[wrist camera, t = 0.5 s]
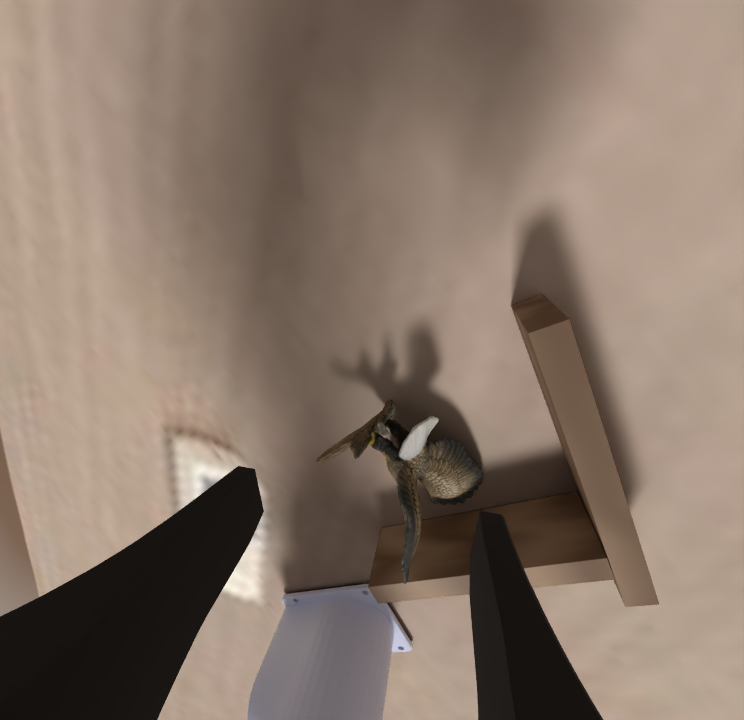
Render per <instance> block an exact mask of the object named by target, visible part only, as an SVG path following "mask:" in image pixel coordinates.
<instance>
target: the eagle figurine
mask: <svg viewBox="0 0 744 720" xmlns="http://www.w3.org/2000/svg"><path fill="white" fill-rule="evenodd" d="M394 412H395V406H392V401H391V400H389V401H387V402H386V404H385V406H384V408H383V410H382V411H381V412H380V413H379V414H378V415H376V416H375V417H374V418H372V419H371V420H370V421H368V422H367V423H366V424H365V425H364V426H362V427H361V428H360V429H358V430H356V431H355V432H353V433H351V434H350V435H348V436H347V437H345V438H344V439H343V440H341V441H340V442H338V443H337V444H335V445H334V446H333V447H331V448H330V449H328V450H327V451H325V452H324V453H323V454H322V455H321V456H320V457H318V458H317V459H316V462H318V463H322V462H324V461H325V460H328V459H330V458H332V457H334V456H336V455H338V454H339V453H341V452H343V451H345V450H346V449H347V448H349V447H350V448H351V450H352V451H353V453H354V458H355V459H357V458H358V457H359V456H360V455H361V454H362V453H363V451H364V450H365V449H366V448H367V446H368V445H371V446H372V447H373V448H374V449H376V450H379V451H380V452H382V453H383V455H384V456H385V457H386V461H387V467H388V470H389V472H390V473H391V475H392V476H393V478H394V479H395V480H396V482H397V485H398V486H397V487H398V493H399V499H400V504H401V508H402V510H403V516H404V523H405V545H404V550H405V551H404V554H403V556H402V559H401V563H402V565H401V569H402V573H403V580H404V584H406V583H407V582H408V579H409V571H410V569H409V565H410V563H411V559H412V557H413V556H414V554H415V551H416V548H417V544H418V540H419V537H420V531H421V508H420V501H419V495H418V491H417V480H418V479H419V480H420V481H421V482H422V483H423V484H424V485H425V487H426V488H427V490H428V491H429V493H430V497H431V501H432V503H434V504H437V503H441V504H443V505H445V504H447V503H450V504H451V505H456V504H457V503H458V502H459V503H464V502H465V500H466V498H471V497H472V496H473V490H477V489H478V485H480V484H481V483H482V476H483V474H482V472H481V471H482V470H481V468H478V466H477V465H476V463H475V462H472V459H471V458H470V456H469V455H467V454H466V450H465V449H464V447H463V445H462V444H460V443H459V442H457V441H454V440H453V439H452V438H449V439H448V438H444V439H443V440H442V441H436V442H435V443H434V444H433V443H432V442H427V443H426V440H427V437H428V436H429V434H430V432H431V430H432V429H433V428H434V426H435V425H436V424H437V423H438V420H439V419H438V418H437V417H434V416H429V417H428V418H427V419H426V420H424V421H422V422H421V423H419V424H417V425H416V426H414V427H413V428H412V430H411V432H410V433H409V432H408V431H407V430H405V429H404V428H403V427H402V426H401V425H400V424H399V423H397V422H396V421H395V420H390V418H391V417H392V416H393V414H394ZM386 427H388V428H390V431H391V433H392V435H393V436H394V437H395V438H396V441H397V443H398V448H396V447H395V446H394V445H393V443H392V442H391V441H389V440H388V439H387V438H384V437H383V436H381V435H388V434H389V433H388V431H387V429H386Z"/></svg>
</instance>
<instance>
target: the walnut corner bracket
mask: <svg viewBox="0 0 744 720" xmlns="http://www.w3.org/2000/svg"><path fill="white" fill-rule="evenodd" d="M511 307H512V310H513V312H514V315H515V318H516V321H517V324H518V326H519V329H520V332H521V335H522V337H523V340H524V343H525V346H526V348H527V351H528V354H529V357H530V360H531V362H532V365H533V368H534V371H535V373H536V376H537V379H538V382H539V384H540V387H541V390H542V393H543V395H544V398H545V401H546V404H547V407H548V409H549V412H550V415H551V418H552V420H553V423H554V426H555V429H556V431H557V434H558V437H559V440H560V443H561V445H562V448H563V451H564V454H565V456H566V459H567V462H568V465H569V467H570V470H571V473H572V476H573V478H574V481H575V484H576V487H577V490H578V492H579V494H578V492H572V493H567V494H562V495H556V496H551V497H546V498H540V499H535V500H529V501H524V502H519V503H513V504H508V505H503V506H497V507H492V508H487V509H481V510H476V511H471V512H465V513H460V514H454V515H449V516H444V517H438V518H433V519H428V520H422V521H421V531H420V537H419V540H418V544H417V548H416V551H415V554H414V556H413V557H412V559H411V563H410V565H409V569H410V571H409V579H408V582H407V583H406V584H404V580H403V573H402V569H401V565H402V563H401V559H402V556H403V554H404V551H405V550H404V545H405V524H401V525H396V526H390V527H385V528H381V532H380V536H379V541H378V545H377V550H376V554H375V558H374V563H373V567H372V572H371V576H370V581H369V585H368V588H369V590H370V591H371V593H372V594H373V596H374V598H375V599H376V601H377V602H378V604H379V603H388V602H398V601H408V600H418V599H428V598H438V597H447V596H457V595H467V594H470V593H469V591H470V552H471V547H472V543H473V538H474V534H475V529H476V525H477V520H478V516H479V511H484V512H490V513H495V514H501V515H502V516H503V517H504V518H505V521H506V524H507V527H508V530H509V533H510V535H511V538H512V541H513V543H514V546H515V549H516V551H517V554H518V556H519V558H520V561H521V563H522V566H523V568H524V570H525V573H526V575H527V577H528V579H529V582H530V584H531V586H532V588H536V587H546V586H555V585H565V584H575V583H585V582H595V581H604V580H614V582H615V584H616V586H617V589H618V591H619V593H620V596H621V598H622V600H623V602H624V605H625V607H631V606H644V605H657V604H659V602H658V599H657V595H656V592H655V589H654V586H653V583H652V580H651V576H650V573H649V570H648V567H647V564H646V561H645V557H644V554H643V551H642V548H641V545H640V542H639V538H638V535H637V532H636V529H635V526H634V523H633V519H632V516H631V513H630V510H629V507H628V504H627V500H626V497H625V494H624V491H623V488H622V485H621V481H620V478H619V475H618V472H617V469H616V466H615V462H614V459H613V456H612V453H611V450H610V447H609V443H608V440H607V437H606V434H605V431H604V428H603V424H602V421H601V418H600V415H599V412H598V409H597V405H596V402H595V399H594V396H593V393H592V390H591V386H590V383H589V380H588V377H587V374H586V371H585V367H584V364H583V361H582V358H581V355H580V352H579V348H578V345H577V342H576V339H575V336H574V332H573V329H572V326H571V323H570V320H569V318H567V317H566V316H565V315H564V314H563V313H562V312H561V311H560V310H559V309H558V308H557V307H555V306H554V305H553V304H552V303H551V302H550V301H549V300H548V299H547V298H546V297H545V296H543V295H542V294H541V295H538V296H535V297H533V298H530V299H527V300H525V301H522V302H520V303H517V304H514V305H512V306H511ZM579 495H580V497H579ZM580 498H581V499H580Z"/></svg>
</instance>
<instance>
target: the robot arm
mask: <svg viewBox="0 0 744 720" xmlns="http://www.w3.org/2000/svg"><path fill="white" fill-rule="evenodd" d="M263 512H264V510H263V505H262V501H261V496H260V491H259V487H258V482H257V477H256V472H255V469H251V468H246V467H241V466H238V467H237V468H235V469H234V470H232V471H231V472H230V473H228V474H227V475H226V476H225V477H223V478H222V479H221V480H219V481H218V482H217V483H215V484H214V485H213V486H212V487H210V488H209V489H208V490H206V491H205V492H204V493H202V494H201V495H200V496H198V497H197V498H196V499H194V500H193V501H192V502H190V503H189V504H188V505H186V506H185V507H184V508H182V509H181V510H180V511H178V512H177V513H176V514H174V515H173V516H172V517H170V518H169V519H167V520H166V521H164V522H163V523H162V524H160V525H159V526H157V527H156V528H154V529H153V530H152V531H150V532H149V533H147V534H146V535H144V536H143V537H141V538H140V539H139V540H137V541H135V542H134V543H132V544H131V545H129V546H128V547H126V548H125V549H123V550H122V551H120V552H118V553H117V554H115V555H113V556H112V557H110V558H108V559H107V560H105V561H104V562H102V563H100V564H99V565H97V566H95V567H94V568H92V569H90V570H88V571H87V572H85V573H83V574H81V575H79V576H78V577H76V578H74V579H72V580H70V581H68V582H67V583H65V584H63V585H61V586H59V587H57V588H56V589H54V590H52V591H50V592H48V593H47V594H45V595H43V596H41V597H39V598H37V599H35V600H33V601H31V602H29V603H27V604H25V605H23V606H21V607H19V608H17V609H15V610H13V611H11V612H9V613H7V614H5V615H3V616H1V617H0V720H157V719H158V717H159V714H160V712H161V710H162V707H163V705H164V703H165V701H166V699H167V697H168V694H169V692H170V690H171V688H172V686H173V684H174V681H175V679H176V677H177V675H178V673H179V670H180V668H181V666H182V664H183V662H184V660H185V658H186V656H187V654H188V652H189V650H190V648H191V646H192V644H193V641H194V639H195V637H196V635H197V633H198V631H199V629H200V627H201V626H202V624H203V622H204V620H205V618H206V616H207V615H208V613H209V611H210V609H211V608H212V606H213V604H214V603H215V601H216V599H217V598H218V596H219V594H220V593H221V591H222V589H223V587H224V586H225V584H226V582H227V581H228V579H229V577H230V576H231V574H232V572H233V571H234V569H235V567H236V565H237V564H238V562H239V560H240V559H241V557H242V555H243V553H244V552H245V550H246V548H247V546H248V545H249V543H250V541H251V539H252V537H253V534H254V532H255V530H256V528H257V526H258V523H259V521H260V519H261V516H262V514H263ZM368 585H369V584H361V585H354V586H346V587H338V588H330V589H322V590H314V591H306V592H298V593H290V594H285V595H284V596H283V598H282V601H283V603H284V604H285V606H286V608H285V610H284V613H283V615H282V618H281V620H280V622H279V625H278V627H277V629H276V632H275V634H274V636H273V639H272V641H271V644H270V646H269V648H268V651H267V653H266V655H265V658H264V660H263V662H262V665H261V667H260V670H259V672H258V674H257V677H256V679H255V682H254V685H253V688H252V692H251V696H250V701H249V708H248V720H382V717H383V710H384V703H385V696H386V689H387V681H388V674H389V667H390V660H391V653H392V652H407V651H411V650H412V645H413V644H412V642H411V641H410V639H409V637H408V636H407V634H406V633H405V631H404V629H403V628H402V626H401V625H400V623H399V621H398V620H397V618H396V617H395V615H394V613H393V612H392V610H391V609H390V607H389V605H388V604H387V603H379V604H378V602H377V601H376V599H375V598H374V596H373V594H372V593H371V591H370V590H369V588H368ZM469 593H470V606H471V619H472V631H473V643H474V656H475V668H476V680H477V695H478V720H603V718H602V717H601V715H600V714H599V712H598V710H597V709H596V707H595V705H594V704H593V702H592V700H591V699H590V697H589V695H588V693H587V692H586V690H585V688H584V686H583V685H582V683H581V681H580V679H579V678H578V676H577V674H576V672H575V671H574V669H573V667H572V665H571V663H570V662H569V660H568V658H567V656H566V654H565V652H564V651H563V649H562V647H561V645H560V643H559V641H558V639H557V637H556V635H555V633H554V631H553V629H552V627H551V626H550V624H549V622H548V620H547V618H546V616H545V614H544V611H543V609H542V607H541V605H540V603H539V601H538V599H537V597H536V595H535V592H534V590H533V588H532V586H531V584H530V582H529V579H528V577H527V575H526V573H525V570H524V568H523V566H522V563H521V561H520V558H519V556H518V554H517V551H516V549H515V546H514V543H513V541H512V538H511V535H510V533H509V530H508V527H507V524H506V521H505V518H504V517H503V516H502V515H501V514H495V513H490V512H484V511H479V516H478V520H477V525H476V529H475V534H474V538H473V543H472V547H471V552H470V591H469Z"/></svg>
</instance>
